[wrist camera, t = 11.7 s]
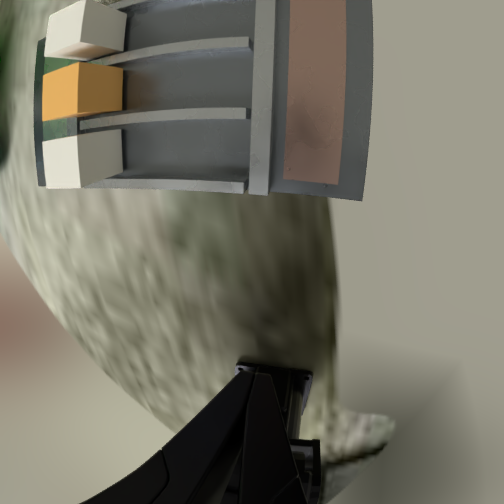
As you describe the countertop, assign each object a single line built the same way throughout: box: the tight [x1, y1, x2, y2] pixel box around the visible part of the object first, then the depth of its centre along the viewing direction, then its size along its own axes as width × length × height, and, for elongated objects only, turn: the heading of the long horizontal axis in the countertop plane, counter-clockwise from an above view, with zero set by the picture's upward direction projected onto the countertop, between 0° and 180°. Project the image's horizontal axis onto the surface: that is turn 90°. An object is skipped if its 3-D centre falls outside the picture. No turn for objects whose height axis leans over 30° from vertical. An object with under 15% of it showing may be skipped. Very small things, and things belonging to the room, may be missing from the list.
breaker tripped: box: [42, 62, 123, 121], centre depth 13 cm, size 3×3×4 cm
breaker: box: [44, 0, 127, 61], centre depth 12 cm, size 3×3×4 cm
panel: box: [34, 0, 373, 201], centre depth 15 cm, size 13×24×2 cm, turn 88°
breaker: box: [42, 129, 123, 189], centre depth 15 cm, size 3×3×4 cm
